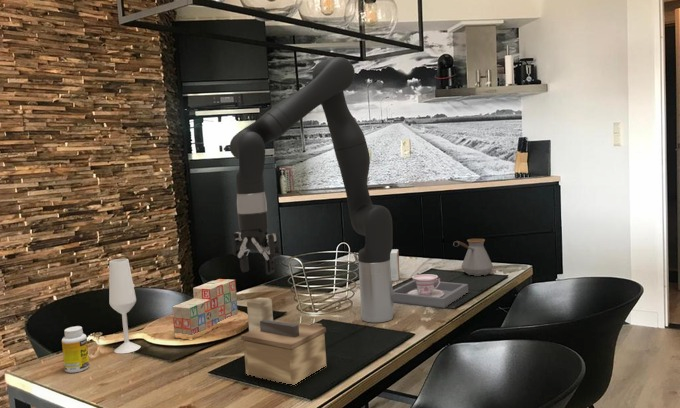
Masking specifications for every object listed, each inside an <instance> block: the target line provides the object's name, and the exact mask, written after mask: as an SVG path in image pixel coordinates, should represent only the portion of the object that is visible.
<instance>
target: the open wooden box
mask: <svg viewBox="0 0 680 408" xmlns="http://www.w3.org/2000/svg"><path fill="white" fill-rule="evenodd" d="M242 341H243V353H244V363H245V364H244V366H245V375H246V374H247V375H246V376H249V375H251V376H250V377H253V376H255V377H254V378H259V379H262V378H263V379H262V380H266V379H267V381H270V380H271V382H275V381H276V382H275V383H279V382H282V383H281V384H283V383H286V384H285V385H287V384H292V385H295V384H297V383H298V382H300V381H301V380H303V379H305V378H306V377H308V376H310V375H311V374H313V373H315V372H316V371H318V370H320V369H321V368H323V367H325V366H326V367H327V354H326V339H325V333H323V334H321V335H319V336H317V337H315V338H313V339H311V340H309V341H307V342H305V343H303V344H301V345H299V346H297V347H295V348H293V349H288V348H282V347H277V346H272V345H267V344H261V343H256V342H251V341H246V340H242ZM326 367H325V368H326ZM320 371H321V370H320ZM315 374H316V373H315ZM310 377H311V376H310ZM305 380H306V379H305ZM300 383H301V382H300ZM292 385H291V386H292ZM297 385H298V384H297ZM295 386H296V385H295Z"/></svg>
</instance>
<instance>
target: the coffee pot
mask: <svg viewBox="0 0 680 408" xmlns="http://www.w3.org/2000/svg"><path fill="white" fill-rule="evenodd" d="M466 241H467V242H468V245H467V244H466V243H464V242H461V240H460V241H459V240H456V241H455V242H453V244H452V245H453V246H455V243H457V247H458V246H461V247H464V248H466V249H467V251H466V254H465V256H464V259H463V260H462V264H461V267H460V268H461V270H462V271H463V272H464V273H466V275H467V274H468V275H467V276H470V275H474V276H473V277H482V276H481V275H484V276H487V275H488V274H489V273H490V272H491V271H492V269H493V267H494V266H493V265H494V264H493V263H492V261H491V259H490V256H489V254H488V252H487V250H486V247H485V246H484V243H485V242H486V239H485V238H469V239H467V240H466Z"/></svg>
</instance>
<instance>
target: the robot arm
mask: <svg viewBox="0 0 680 408" xmlns="http://www.w3.org/2000/svg"><path fill="white" fill-rule="evenodd" d="M355 75H356V72H355V68H354V65H353V63H352V62H351V61H350V60H349V59H347V58H346V57H342V56H336V57H335V56H334V57H330V58H327V59H323V60H321V61H319V62H318V63H316V64H315V66H314V67H313V70H312V80H311V81H310V82H309V83H308V84H306V85H305V86H303V87H302V88H300V89H299V90H296V91H295V92H294V93H292V94H290V95H288V96H287V97H285V98H284V99H282V100H281V101H280V102H278V103H276V104H275V105H274V106H273V107H271V108H270V109H269V110H267V111H265V113H264V114H262V115H261V117H259V118H258V119H256V121H254V122H252V123H250V124H248V125H247V126H245V127H244V128H243V129H241V130H240V131H239V132H237V133H236V134H234V136H233V137H232V138H231V140H230V144H229V150H230V153H231V155H232V156H233V157H234V158H236V159H238V172H237V173H236V174H235V185H236V209H237V210H236V211H237V219H238V220H237V221H238V229H239V230H240V231H237V232H236V231H235V232H232V233H231V242H232V243H231V246H232V249H231V250H232V255H233V256H237V258H238V259H239V267H240V270H241V273H246V272H249V271H250V264H249V263H250V261H249V256H248V255H249V252H251V251H252V250H253V251H258V252H259V253H260V254H262V255H263V257H264V259H265V260H264V263H265V274H266V275H272V274H274V272H275V258H278V257H280V255H281V251H280V248H281V247H280V243H279V242H280V241H279V235H278V234H279V233H277V232H274V233H269V232H268V228H269V217H268V205H267V204H268V203H267V197H266V192H265V181H264V169H265V161H266V148H265V147H266V145H267V144H269V143H271V142H273V141H275V140H277V139H279V138H280V137H282V136H283V135H284V134H285V133H287V132H288V131H289V130H290V129H291V128H293V127H294V126H295V125H296V124H298V123H299V122H300V121H301V120H303V118H304V117H306V116H307V115H309V114H310V113H311V112H312V111H313V110H315V109H316V108H317V107H319V106H320V105H321V106H322V109H323V112H324V115H325V119H326V123H327V124H326V125H327V127H328V131H329V133H330V139H331V142H332V147H333V150H334V154H335V159H336V161H337V164H338V167H339V172H340V176H341V179H342V183H343V186H344V189H345V194H346V201H347V208H348V214H349V220H350V223H351V226H352V228H353V230H354V231H355V232H356V233H357V234H358V235H360V236H364V237H365V239H364V242H365V244H364V247H363V248H361V249H359V251H358V253H357V258H358V259H357V260H358V262H357V263H358V277H359V292H360V293H359V294H360V297H359V298H360V310H361V315H360V316H361V319H362V320H361V321H364V322H367V323H385V322H388V321H391V320H392V319H393V318H394V315H395V308H394V303H393V290H394V289H393V288H394V287H393V283H392V281H391V264H390V253H391V251H392V249H393V240H394V239H393V233H394V232H393V227H394V226H393V218H392V214H391V212H390V210H389V209H388V207H387V208H386V207H385V206H384V205H379V204H373V202H372V200H371V196H370V191H369V187H368V178H369V173H370V165H371V156H370V152H369V151H370V150H369V148H368V143H367V139H366V137H365V135H364V132H363V130H362V128H361V127H360V125H359V124H358V122H357V120H356V119H355V117H354V116H353V115H352V113H351V112H350V109H349V107H348V105H347V101H346V97H345V93H344V91H346V90H347V89H349V88H350V87H351V86H352V84H353V83H354V80H355Z"/></svg>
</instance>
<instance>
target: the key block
mask: <svg viewBox="0 0 680 408" xmlns="http://www.w3.org/2000/svg"><path fill="white" fill-rule="evenodd" d="M246 305H247V307H246V308H247V321H248V332H250V331H252V330H255V329H257V328H259V327H260V321H262V320H264V319H265V320H272V321H274V316H273V315H274V314H273V300H272V298H267V297H266V298H265V297H259V296H258V297H256V298H253V299H250V300H248V301H246Z"/></svg>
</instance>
